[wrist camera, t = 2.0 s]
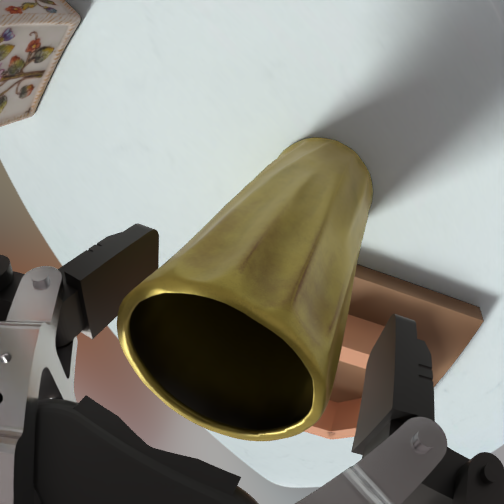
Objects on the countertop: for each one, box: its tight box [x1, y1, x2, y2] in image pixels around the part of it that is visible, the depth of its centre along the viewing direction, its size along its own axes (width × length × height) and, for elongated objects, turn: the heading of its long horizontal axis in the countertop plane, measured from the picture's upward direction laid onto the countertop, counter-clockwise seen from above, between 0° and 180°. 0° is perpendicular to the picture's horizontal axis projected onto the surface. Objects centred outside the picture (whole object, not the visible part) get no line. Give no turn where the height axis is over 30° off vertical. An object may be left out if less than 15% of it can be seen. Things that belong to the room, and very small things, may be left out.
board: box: [329, 265, 484, 403], centre depth 23 cm, size 16×16×2 cm
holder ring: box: [305, 314, 385, 439], centre depth 21 cm, size 10×10×3 cm
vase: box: [117, 138, 373, 441], centre depth 13 cm, size 6×6×14 cm
